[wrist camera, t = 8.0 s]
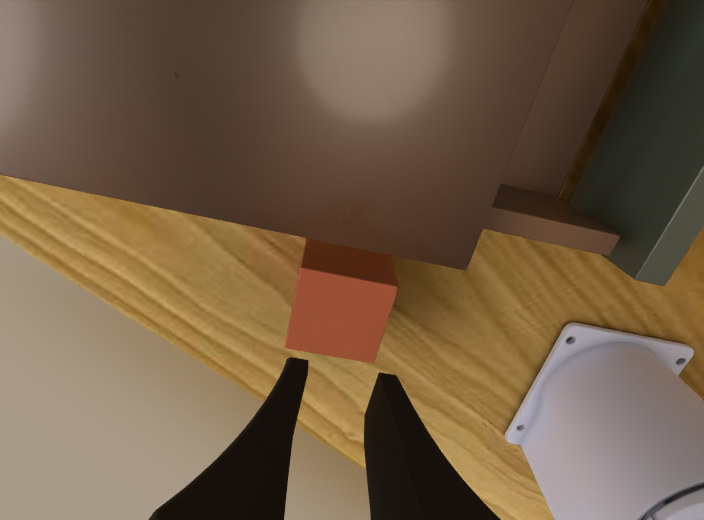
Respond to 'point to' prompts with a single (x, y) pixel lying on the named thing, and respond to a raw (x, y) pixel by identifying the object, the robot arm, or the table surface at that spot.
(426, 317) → the table surface
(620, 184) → the drawer
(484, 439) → the table surface
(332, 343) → the block
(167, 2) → the cabinet
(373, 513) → the robot arm
